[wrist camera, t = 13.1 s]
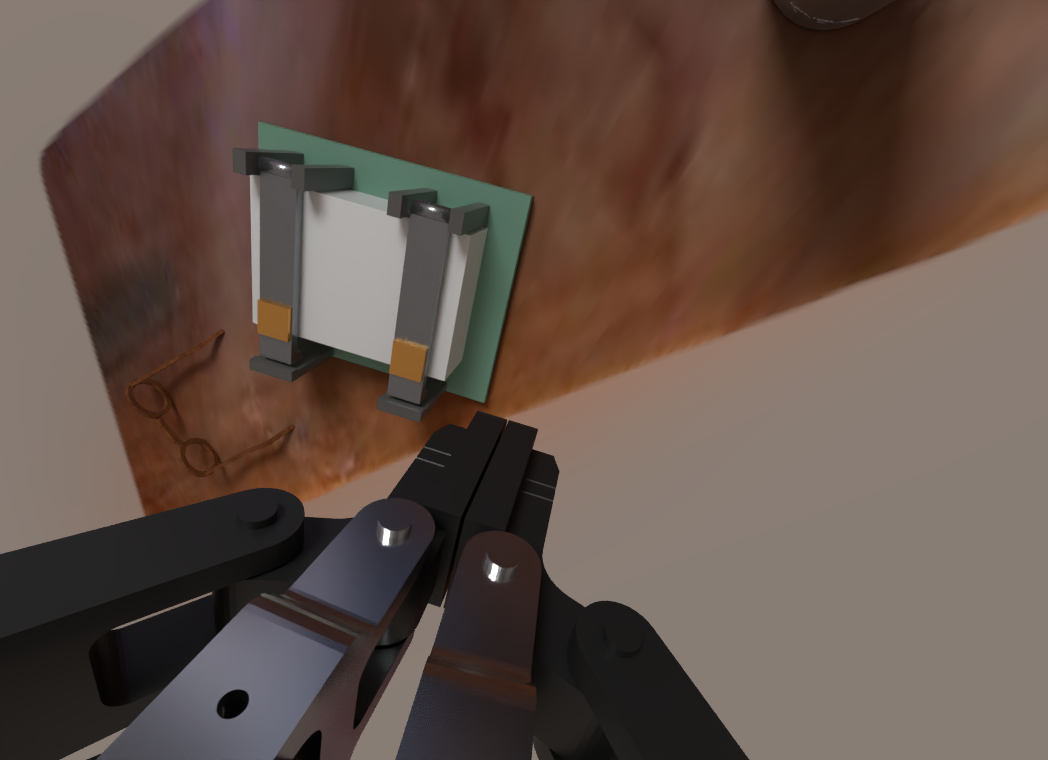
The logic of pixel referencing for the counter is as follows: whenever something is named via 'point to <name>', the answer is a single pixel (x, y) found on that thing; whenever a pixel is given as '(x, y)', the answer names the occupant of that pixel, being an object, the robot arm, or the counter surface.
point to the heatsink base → (449, 197)
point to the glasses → (171, 434)
